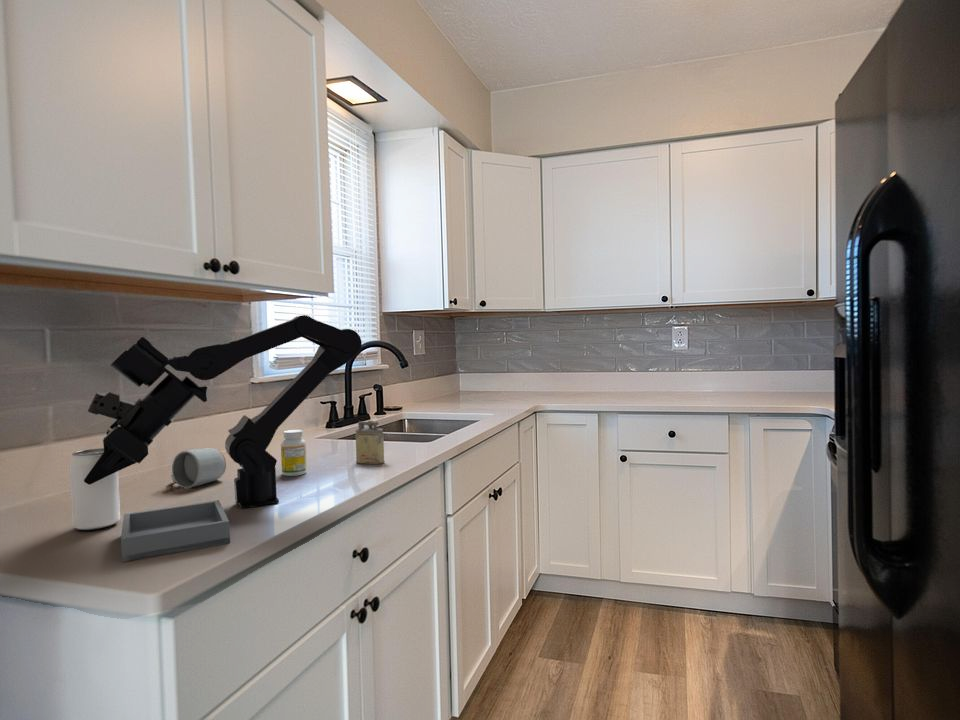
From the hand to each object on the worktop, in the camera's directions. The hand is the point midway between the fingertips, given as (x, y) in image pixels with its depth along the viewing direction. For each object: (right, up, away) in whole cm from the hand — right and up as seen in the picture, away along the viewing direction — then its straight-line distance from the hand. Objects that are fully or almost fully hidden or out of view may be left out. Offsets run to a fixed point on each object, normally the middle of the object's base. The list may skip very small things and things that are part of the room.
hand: (88, 478), depth 94 cm
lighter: (+37, -6, +46) cm, 59 cm away
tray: (+17, -8, -6) cm, 20 cm away
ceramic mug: (+3, -7, +29) cm, 30 cm away
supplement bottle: (+22, -6, +36) cm, 43 cm away
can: (+1, -8, +1) cm, 8 cm away
